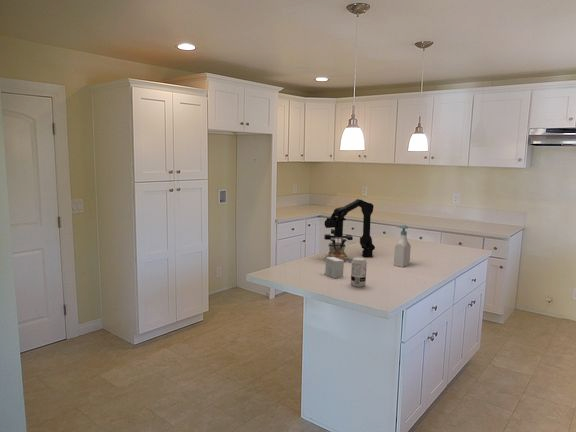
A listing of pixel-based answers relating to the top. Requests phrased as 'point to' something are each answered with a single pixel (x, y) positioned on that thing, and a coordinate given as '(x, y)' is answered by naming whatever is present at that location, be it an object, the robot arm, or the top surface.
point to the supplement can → (358, 272)
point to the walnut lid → (337, 253)
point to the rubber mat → (349, 260)
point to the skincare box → (334, 267)
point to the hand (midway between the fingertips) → (337, 249)
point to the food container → (331, 246)
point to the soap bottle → (402, 249)
